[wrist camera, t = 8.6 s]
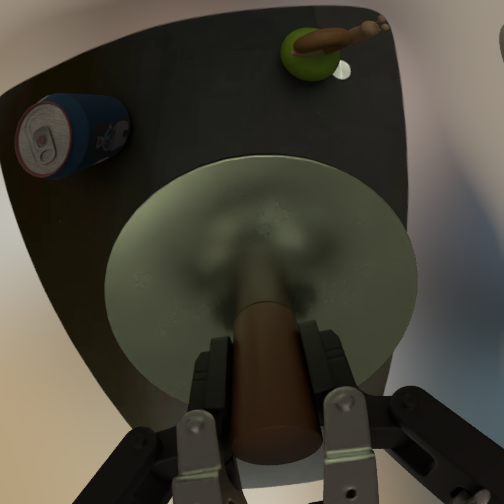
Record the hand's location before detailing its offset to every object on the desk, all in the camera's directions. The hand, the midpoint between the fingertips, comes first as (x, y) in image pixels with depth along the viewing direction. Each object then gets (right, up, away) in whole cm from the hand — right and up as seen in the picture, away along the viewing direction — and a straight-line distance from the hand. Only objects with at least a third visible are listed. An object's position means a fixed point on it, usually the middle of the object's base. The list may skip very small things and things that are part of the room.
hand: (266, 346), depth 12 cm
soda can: (-16, +17, +15) cm, 28 cm away
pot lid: (0, +1, +1) cm, 2 cm away
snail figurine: (+5, +23, +13) cm, 27 cm away
